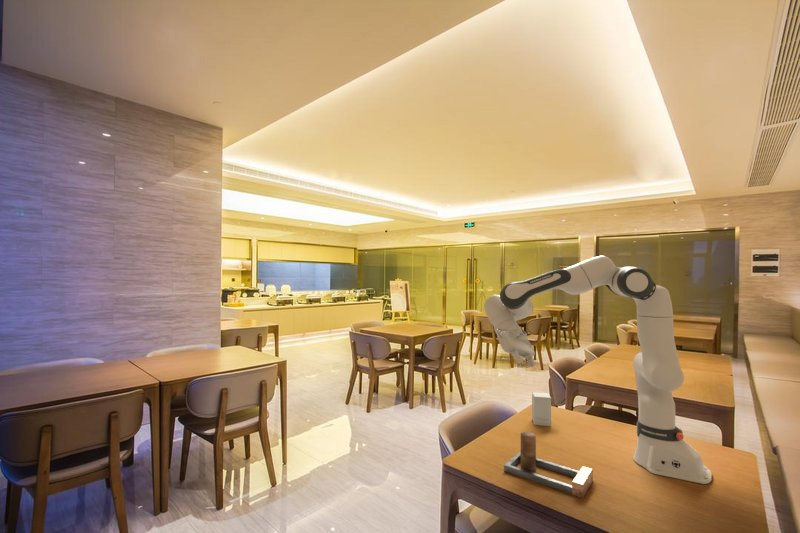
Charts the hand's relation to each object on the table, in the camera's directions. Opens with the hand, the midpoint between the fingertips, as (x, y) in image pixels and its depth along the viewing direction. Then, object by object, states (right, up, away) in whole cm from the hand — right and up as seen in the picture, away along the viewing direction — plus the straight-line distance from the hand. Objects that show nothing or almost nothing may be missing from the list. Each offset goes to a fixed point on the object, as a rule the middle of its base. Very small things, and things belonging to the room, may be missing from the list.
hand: (527, 364), depth 140 cm
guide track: (+3, -35, -11) cm, 36 cm away
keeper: (-2, -35, -6) cm, 35 cm away
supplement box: (+18, -36, +36) cm, 54 cm away
